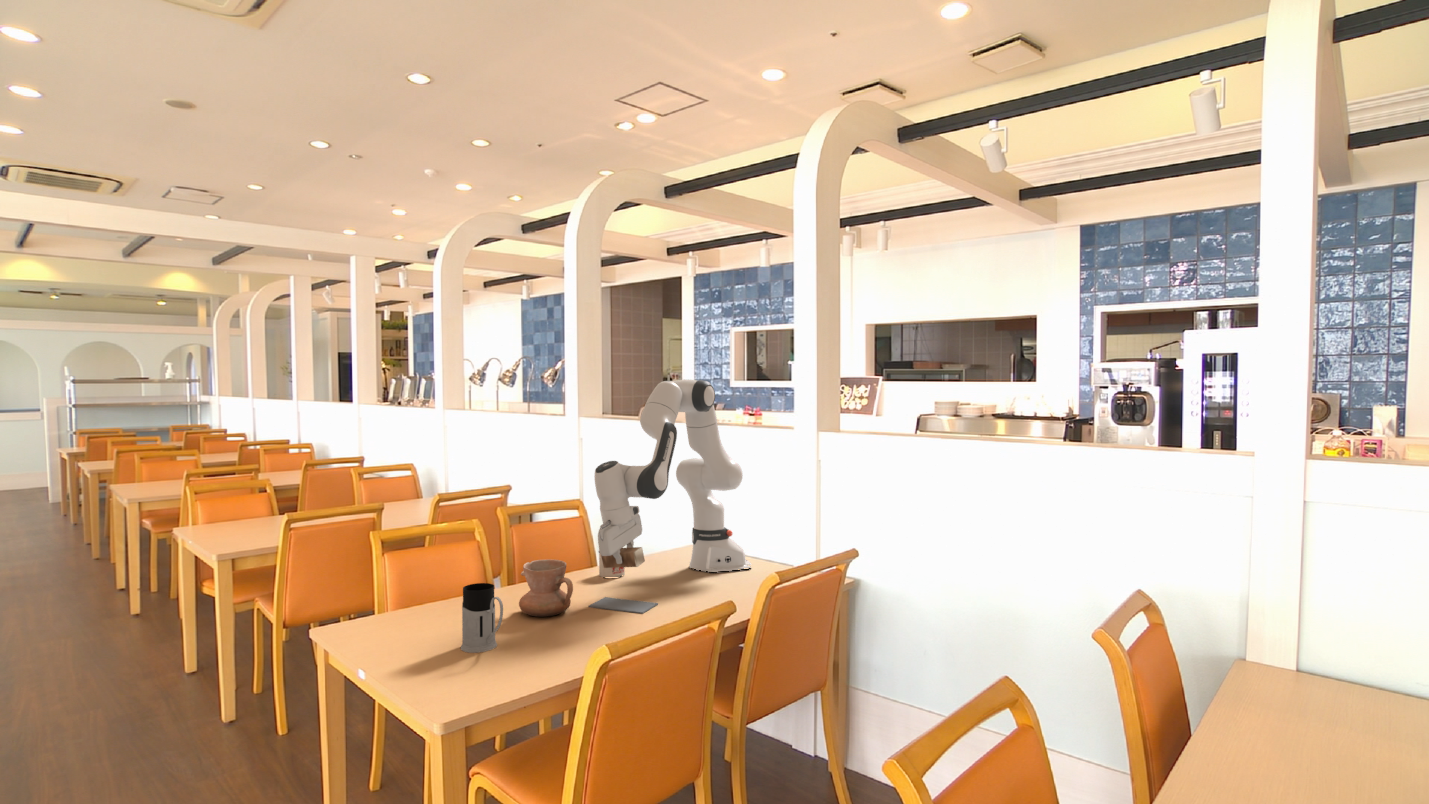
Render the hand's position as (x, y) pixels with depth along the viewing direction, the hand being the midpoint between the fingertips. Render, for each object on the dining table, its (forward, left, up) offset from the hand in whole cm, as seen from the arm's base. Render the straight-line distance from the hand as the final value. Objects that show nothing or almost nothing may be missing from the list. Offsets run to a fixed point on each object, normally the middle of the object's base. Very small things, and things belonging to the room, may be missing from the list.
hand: (625, 559), depth 228 cm
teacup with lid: (+3, -34, -13) cm, 36 cm away
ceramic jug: (+23, +8, -13) cm, 28 cm away
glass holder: (+36, +36, -13) cm, 53 cm away
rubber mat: (+1, +4, -13) cm, 14 cm away
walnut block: (+6, -4, 0) cm, 7 cm away
